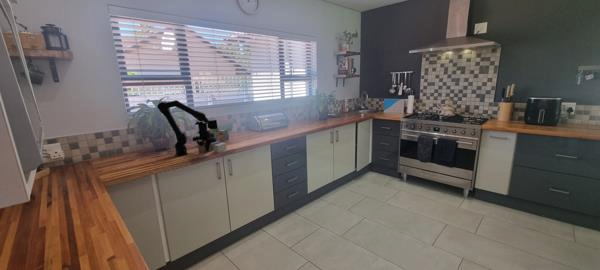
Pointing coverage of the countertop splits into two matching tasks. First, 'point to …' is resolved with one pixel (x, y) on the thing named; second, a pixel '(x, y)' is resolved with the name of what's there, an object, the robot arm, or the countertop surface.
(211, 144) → the slate brick
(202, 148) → the walnut brick
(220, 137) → the stack of blocks
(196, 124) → the robot arm
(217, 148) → the cream brick
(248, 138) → the countertop surface
